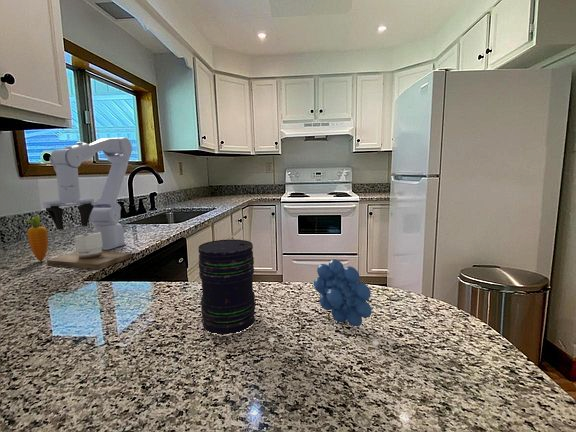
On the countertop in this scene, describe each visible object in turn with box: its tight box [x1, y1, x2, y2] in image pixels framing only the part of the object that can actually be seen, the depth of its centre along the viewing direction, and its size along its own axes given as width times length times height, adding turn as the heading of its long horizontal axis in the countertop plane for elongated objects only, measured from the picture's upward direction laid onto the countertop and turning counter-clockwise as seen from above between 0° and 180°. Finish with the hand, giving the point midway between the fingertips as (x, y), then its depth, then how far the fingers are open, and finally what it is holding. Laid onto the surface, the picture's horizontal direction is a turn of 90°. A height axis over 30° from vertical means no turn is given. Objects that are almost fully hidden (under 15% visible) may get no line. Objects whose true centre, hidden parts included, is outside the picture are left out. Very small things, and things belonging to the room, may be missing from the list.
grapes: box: [313, 258, 373, 327], centre depth 54 cm, size 12×7×12 cm, turn 53°
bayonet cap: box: [73, 231, 103, 258], centre depth 96 cm, size 6×7×7 cm
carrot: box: [25, 215, 49, 262], centre depth 96 cm, size 5×5×15 cm
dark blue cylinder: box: [198, 238, 256, 334], centre depth 55 cm, size 10×10×15 cm
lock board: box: [46, 250, 133, 270], centre depth 97 cm, size 13×20×2 cm, turn 75°
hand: (72, 227), depth 99 cm, fingers open, 7 cm apart
